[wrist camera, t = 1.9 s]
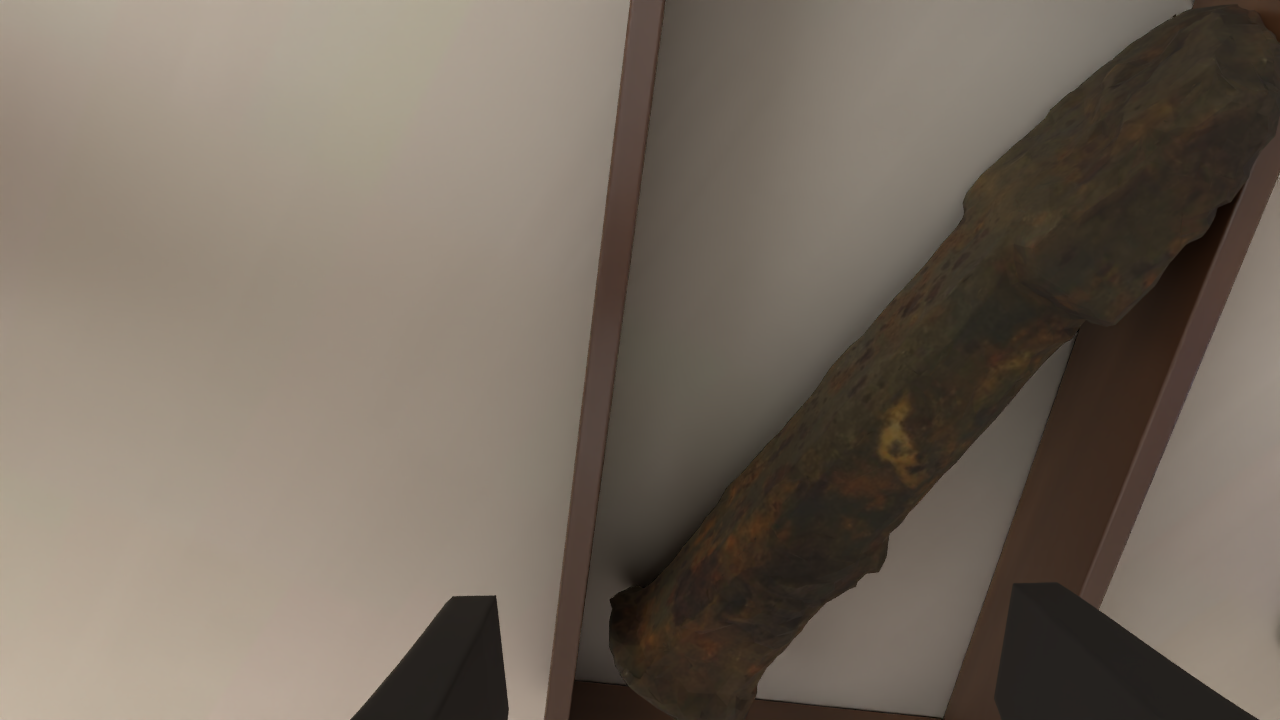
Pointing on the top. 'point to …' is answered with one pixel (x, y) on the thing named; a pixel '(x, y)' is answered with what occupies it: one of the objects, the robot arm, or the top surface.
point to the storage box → (1065, 460)
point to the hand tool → (958, 351)
